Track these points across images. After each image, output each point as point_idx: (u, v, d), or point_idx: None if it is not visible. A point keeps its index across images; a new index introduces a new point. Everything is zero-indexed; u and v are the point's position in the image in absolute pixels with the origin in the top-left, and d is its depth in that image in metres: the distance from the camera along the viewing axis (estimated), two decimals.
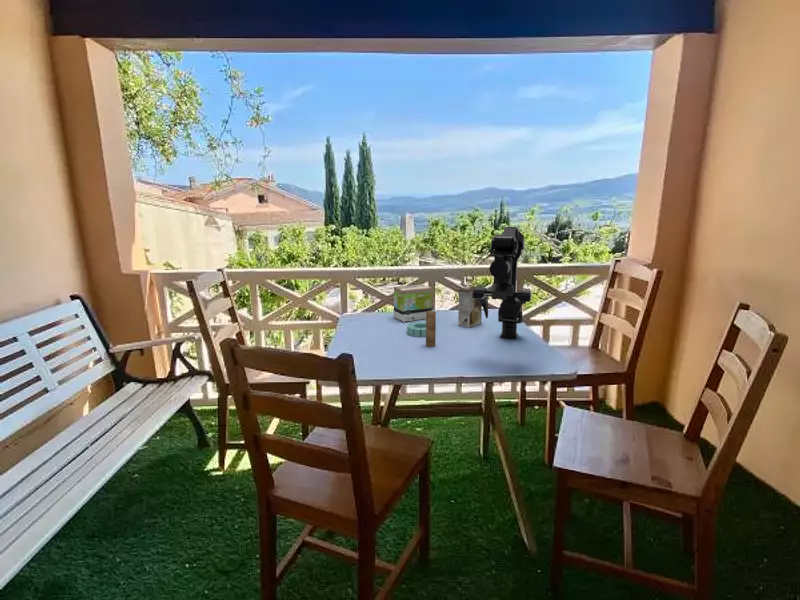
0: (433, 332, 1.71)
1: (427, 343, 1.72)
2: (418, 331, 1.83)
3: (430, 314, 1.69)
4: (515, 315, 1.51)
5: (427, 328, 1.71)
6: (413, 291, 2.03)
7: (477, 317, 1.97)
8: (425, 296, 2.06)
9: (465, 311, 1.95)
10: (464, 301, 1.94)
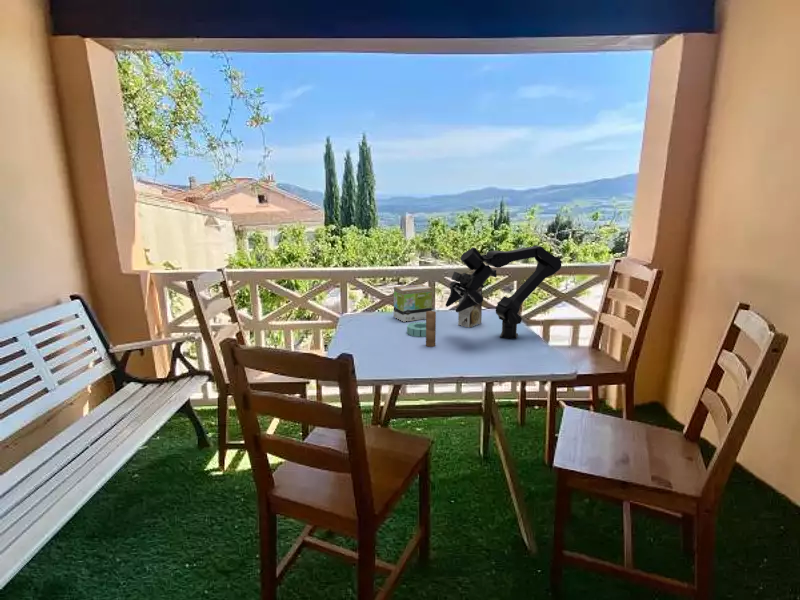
0: (433, 332, 1.71)
1: (427, 343, 1.72)
2: (418, 331, 1.83)
3: (430, 314, 1.69)
4: (458, 306, 1.68)
5: (427, 328, 1.71)
6: (413, 291, 2.03)
7: (477, 317, 1.97)
8: (425, 296, 2.06)
9: (465, 311, 1.95)
10: None
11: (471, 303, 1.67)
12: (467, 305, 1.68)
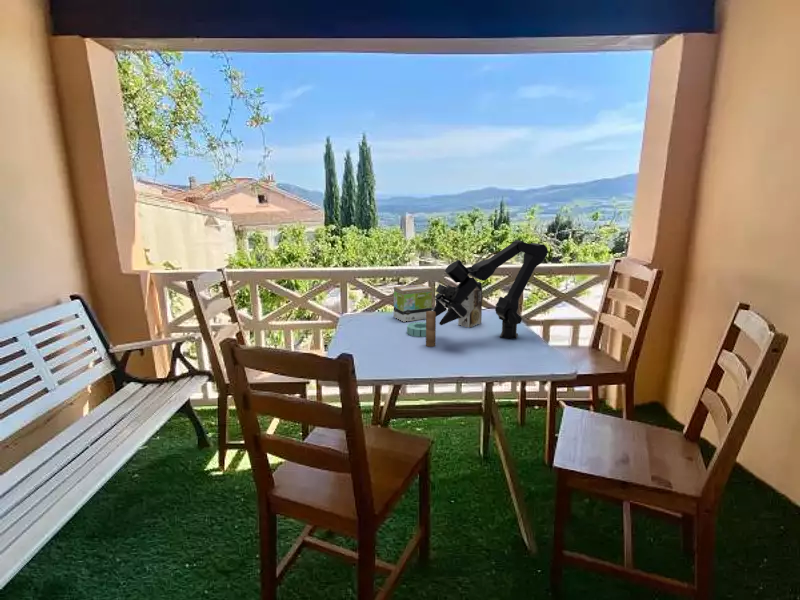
0: (433, 332, 1.71)
1: (427, 343, 1.72)
2: (418, 331, 1.83)
3: (430, 314, 1.69)
4: (442, 319, 1.67)
5: (427, 328, 1.71)
6: (413, 291, 2.03)
7: (477, 317, 1.97)
8: (425, 296, 2.06)
9: None
10: (464, 301, 1.94)
11: (455, 316, 1.67)
12: (451, 318, 1.67)
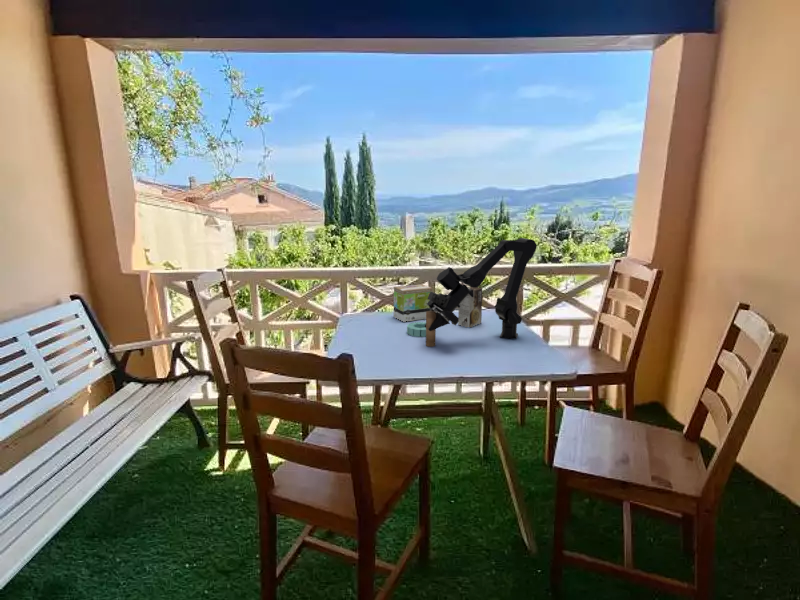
0: (433, 332, 1.71)
1: (427, 343, 1.72)
2: (418, 331, 1.83)
3: (430, 314, 1.69)
4: (431, 325, 1.69)
5: (427, 328, 1.71)
6: (413, 291, 2.03)
7: (477, 317, 1.97)
8: (425, 296, 2.06)
9: (465, 311, 1.95)
10: (464, 301, 1.94)
11: (444, 322, 1.69)
12: (440, 324, 1.69)
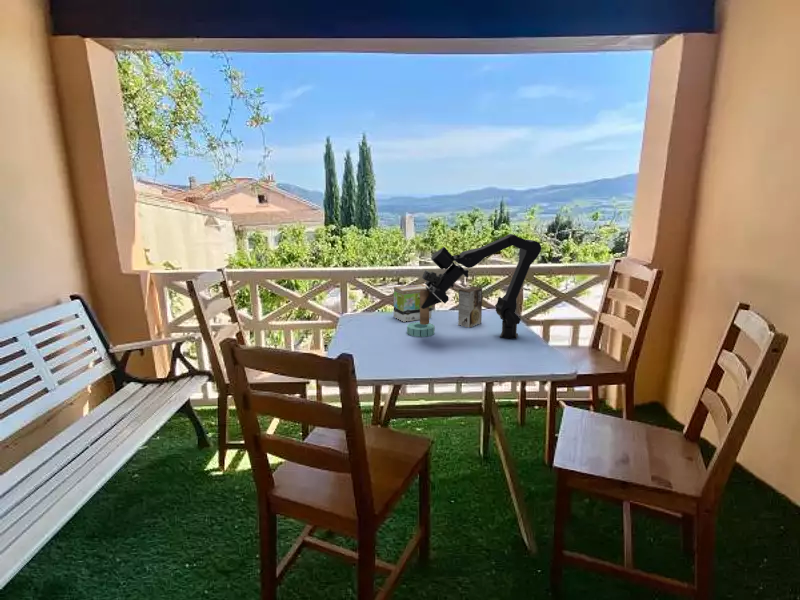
0: (426, 310, 1.75)
1: (420, 321, 1.76)
2: (418, 331, 1.83)
3: (423, 292, 1.73)
4: (423, 303, 1.73)
5: (420, 306, 1.75)
6: (413, 291, 2.03)
7: (477, 317, 1.97)
8: None
9: (465, 311, 1.95)
10: (464, 301, 1.94)
11: (436, 300, 1.72)
12: (432, 302, 1.73)
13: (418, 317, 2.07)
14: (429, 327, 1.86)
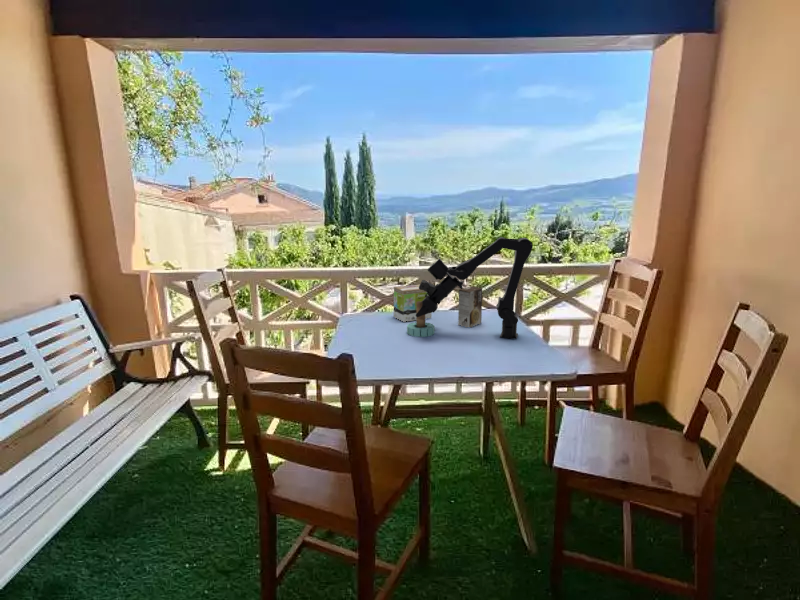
0: (421, 321, 1.86)
1: None
2: (418, 331, 1.83)
3: (418, 304, 1.84)
4: (418, 311, 1.83)
5: None
6: (413, 291, 2.03)
7: (477, 317, 1.97)
8: None
9: (465, 311, 1.95)
10: (464, 301, 1.94)
11: (428, 310, 1.80)
12: (425, 311, 1.81)
13: None
14: (429, 327, 1.86)
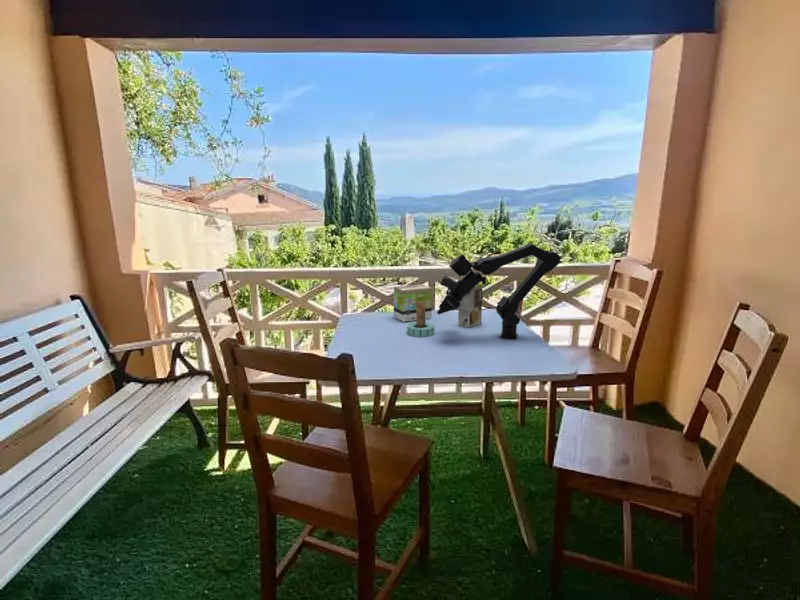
0: (421, 321, 1.86)
1: None
2: (418, 331, 1.83)
3: (418, 304, 1.84)
4: None
5: (416, 316, 1.87)
6: (413, 291, 2.03)
7: (477, 317, 1.97)
8: (425, 296, 2.06)
9: (465, 311, 1.95)
10: (464, 301, 1.94)
11: (451, 307, 1.75)
12: (447, 308, 1.75)
13: None
14: (429, 327, 1.86)
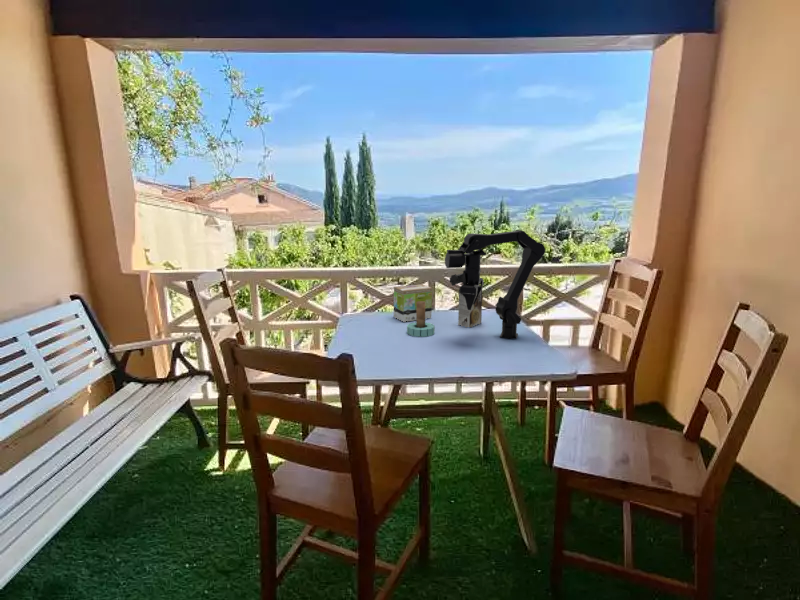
0: (421, 321, 1.86)
1: None
2: (418, 331, 1.83)
3: (418, 304, 1.84)
4: None
5: (416, 316, 1.87)
6: (413, 291, 2.03)
7: (477, 317, 1.97)
8: (425, 296, 2.06)
9: (465, 311, 1.95)
10: (464, 301, 1.94)
11: (472, 295, 1.70)
12: (471, 299, 1.71)
13: None
14: (429, 327, 1.86)
